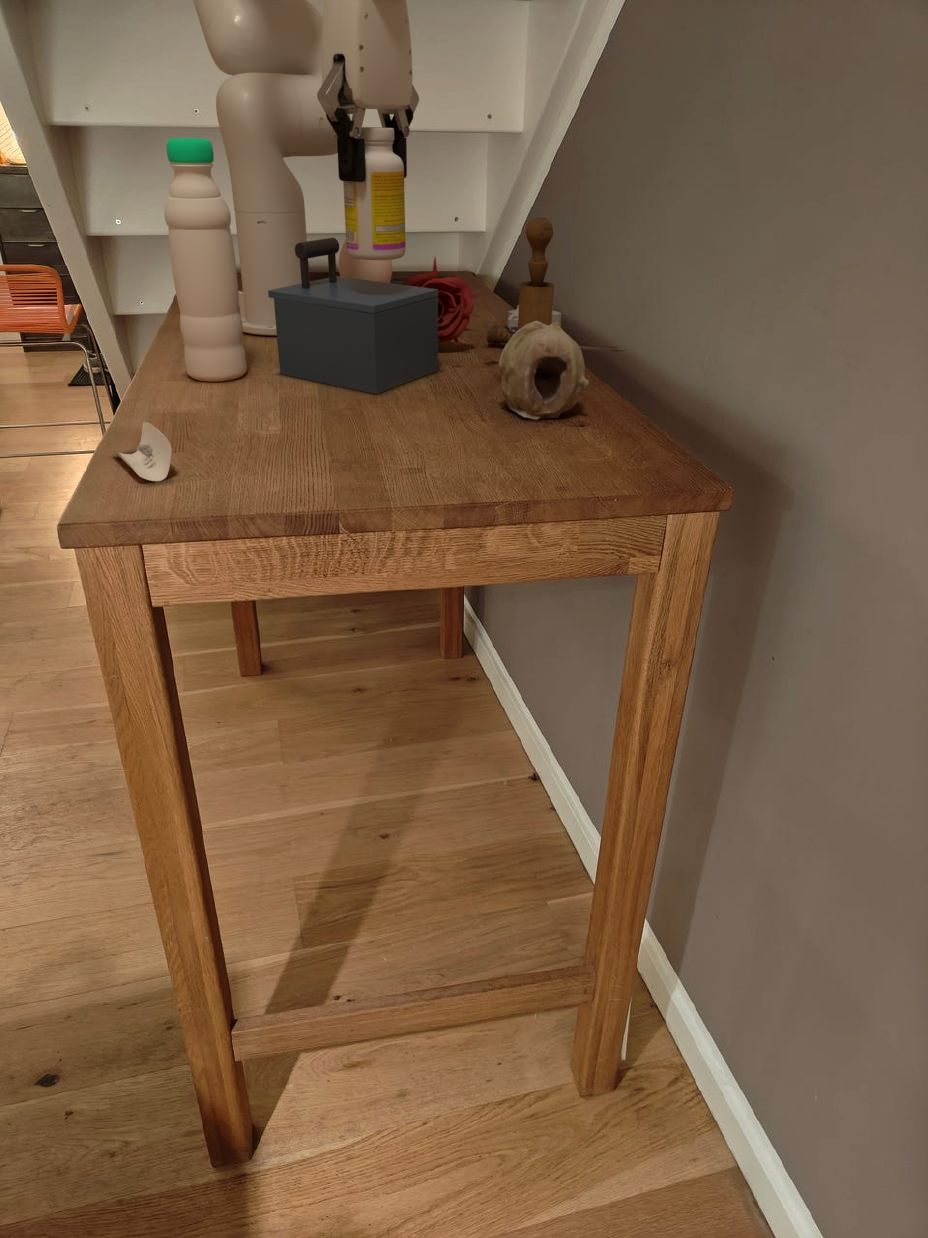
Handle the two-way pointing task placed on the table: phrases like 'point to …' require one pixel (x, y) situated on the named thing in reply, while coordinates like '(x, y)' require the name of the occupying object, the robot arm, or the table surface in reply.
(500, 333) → the machete
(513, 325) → the zipper pull
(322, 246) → the lid
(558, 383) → the cream hollow lumpy ball
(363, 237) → the supplement bottle
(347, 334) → the chest
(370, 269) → the egg
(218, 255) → the water bottle
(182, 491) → the table surface
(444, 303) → the flower
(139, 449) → the white curved plate
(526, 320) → the mortar and pestle
